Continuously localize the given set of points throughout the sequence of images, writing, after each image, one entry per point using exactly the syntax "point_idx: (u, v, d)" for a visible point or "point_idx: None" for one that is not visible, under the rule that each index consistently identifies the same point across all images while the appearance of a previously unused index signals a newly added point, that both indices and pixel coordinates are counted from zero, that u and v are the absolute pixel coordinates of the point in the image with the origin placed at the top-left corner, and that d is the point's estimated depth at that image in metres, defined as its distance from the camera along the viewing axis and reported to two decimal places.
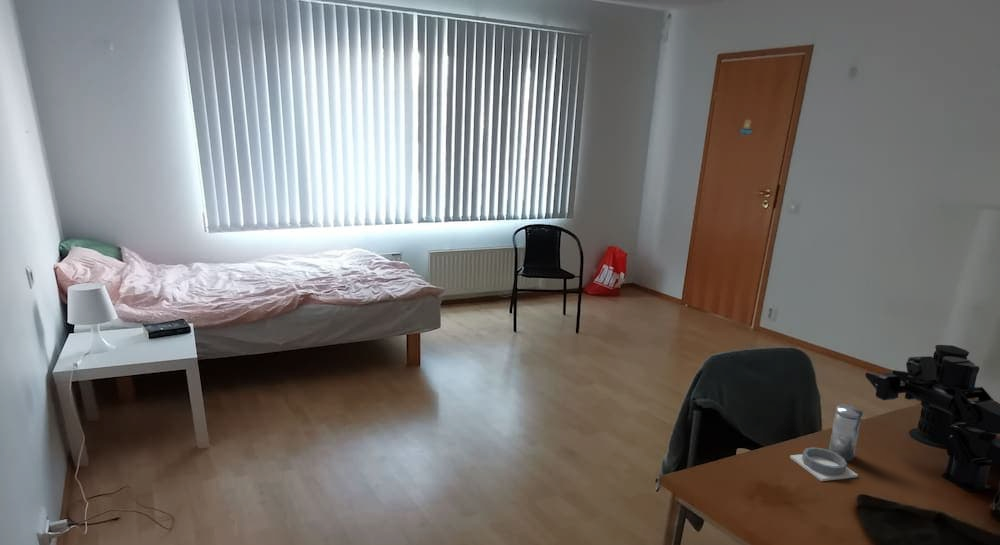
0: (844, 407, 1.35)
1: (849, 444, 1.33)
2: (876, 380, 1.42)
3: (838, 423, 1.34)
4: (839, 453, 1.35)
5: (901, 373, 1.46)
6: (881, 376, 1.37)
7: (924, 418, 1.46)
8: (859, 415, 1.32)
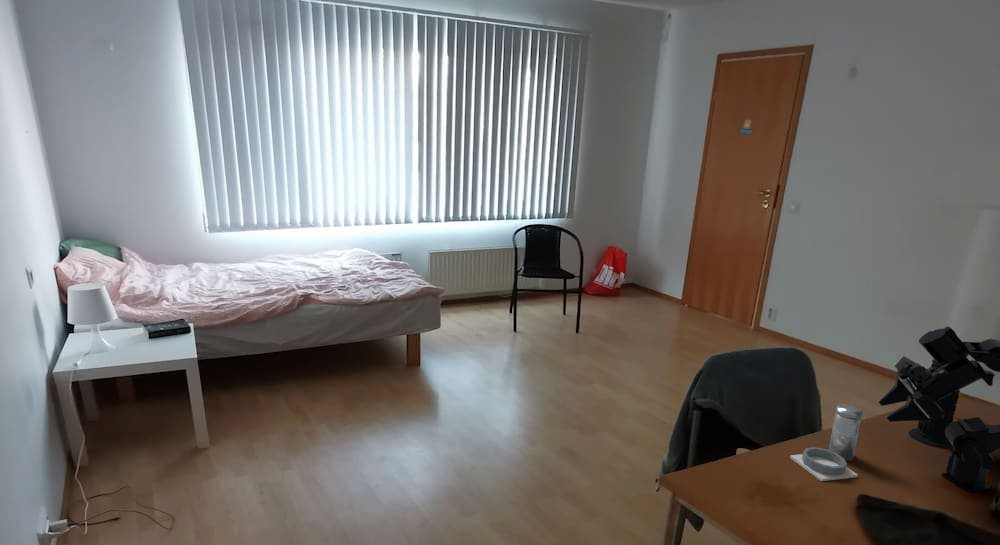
0: (844, 407, 1.35)
1: (849, 444, 1.33)
2: (906, 413, 1.25)
3: (838, 423, 1.34)
4: (839, 453, 1.35)
5: (888, 397, 1.34)
6: (918, 400, 1.20)
7: None
8: (859, 415, 1.32)
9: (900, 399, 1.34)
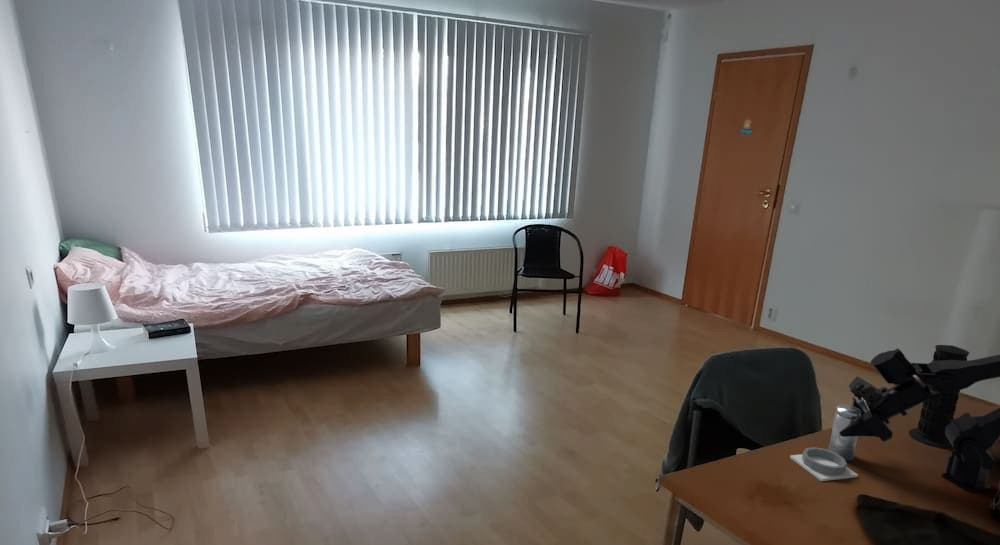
0: (844, 407, 1.35)
1: (849, 444, 1.33)
2: (857, 428, 1.31)
3: (838, 423, 1.34)
4: (839, 453, 1.35)
5: None
6: (868, 420, 1.25)
7: (924, 418, 1.46)
8: None
9: None
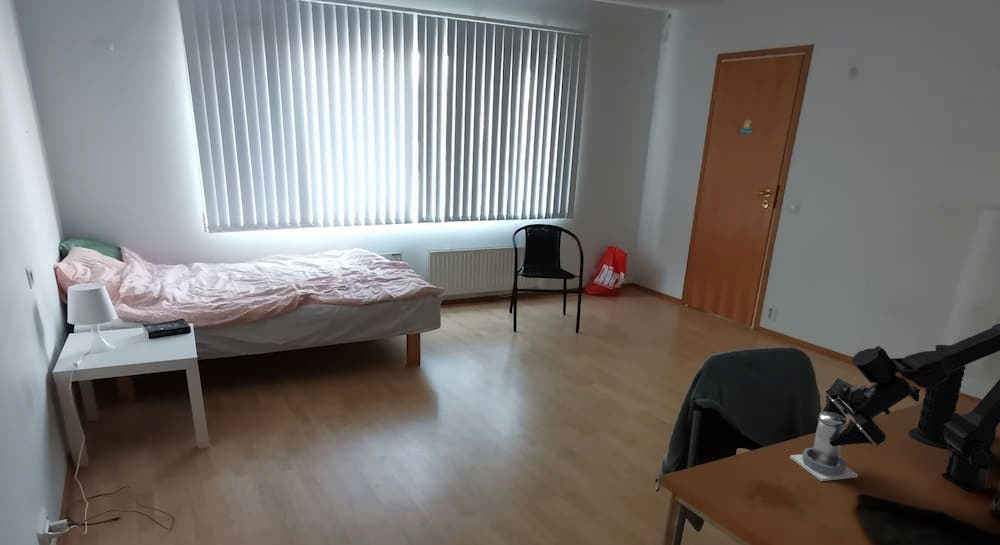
0: (827, 415, 1.29)
1: (835, 453, 1.28)
2: (848, 437, 1.23)
3: (824, 432, 1.28)
4: (825, 464, 1.28)
5: None
6: (863, 425, 1.19)
7: (924, 418, 1.46)
8: (845, 422, 1.26)
9: None
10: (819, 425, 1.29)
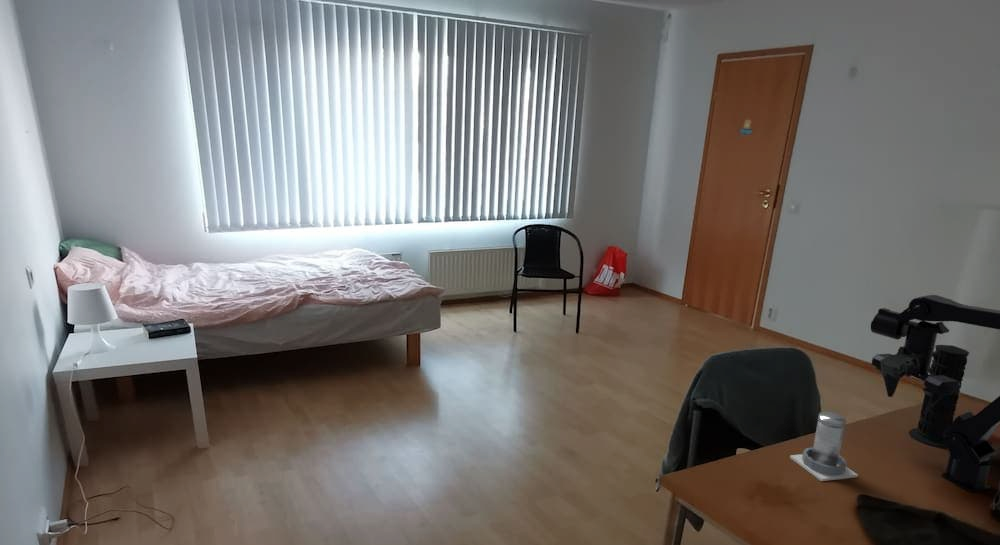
0: (826, 415, 1.29)
1: (834, 453, 1.28)
2: (932, 399, 1.30)
3: (823, 433, 1.28)
4: (825, 464, 1.28)
5: (890, 388, 1.40)
6: (940, 391, 1.26)
7: (924, 418, 1.46)
8: (844, 423, 1.26)
9: (896, 380, 1.41)
10: (818, 426, 1.29)
